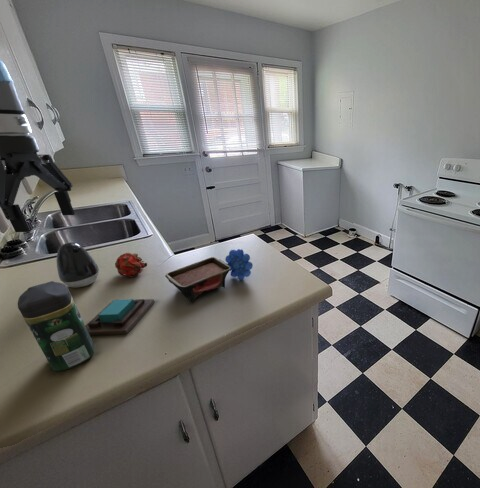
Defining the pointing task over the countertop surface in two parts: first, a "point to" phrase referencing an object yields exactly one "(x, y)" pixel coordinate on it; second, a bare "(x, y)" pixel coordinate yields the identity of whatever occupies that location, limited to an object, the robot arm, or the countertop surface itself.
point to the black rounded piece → (76, 266)
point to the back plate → (120, 325)
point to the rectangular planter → (199, 277)
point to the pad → (116, 310)
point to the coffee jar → (56, 325)
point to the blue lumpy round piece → (239, 263)
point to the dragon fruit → (129, 264)
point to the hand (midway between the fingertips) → (48, 222)
